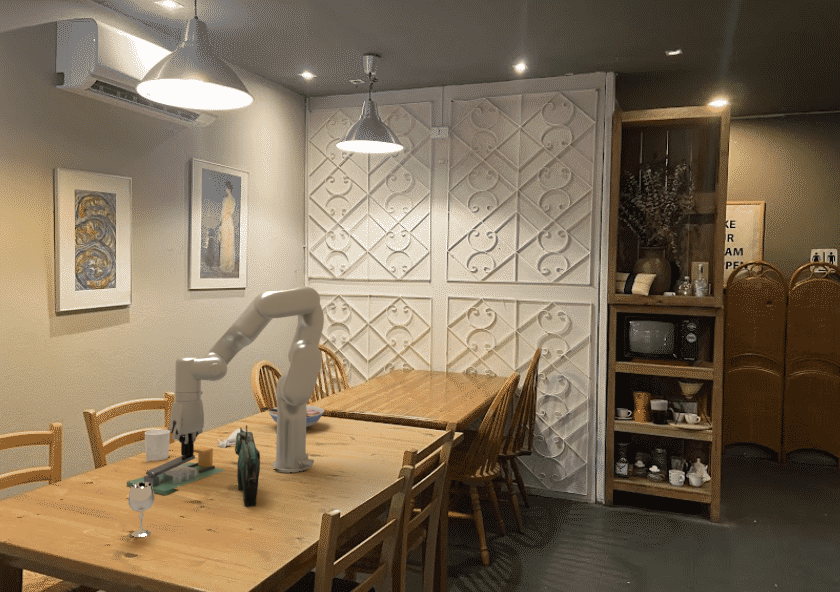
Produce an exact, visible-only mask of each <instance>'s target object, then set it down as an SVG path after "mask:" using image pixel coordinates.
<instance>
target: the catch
mask: <svg viewBox="0 0 840 592" xmlns="http://www.w3.org/2000/svg"><path fill="white" fill-rule="evenodd" d="M213 451H214V448H212V447H208V446H207V447H206V446H197V447H194V453H196V454H198V457H197V459H198V460H197V462H198V466H203V467H210V466H213V462H214V461H213V457H214V456H213V455H214V453H213Z"/></svg>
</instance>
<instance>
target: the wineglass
mask: <svg viewBox="0 0 840 592" xmlns="http://www.w3.org/2000/svg"><path fill="white" fill-rule="evenodd" d="M127 500H128V506H129V508H130V509H131V510H132V511H134V512H138V513H139V514H138V517H139V529H138V530H136V531H133V532H132V533H131V534H130V536H131V535H132V536H134V537H133V538H135V537H141V538H145V536H146V537H148V536H150V535H151V534H152V532H151V530H147V529H144V528H143V519H144V512H146V511H147V510H149V509H151V508H152V506H154V502H155V493H154V490H153V486H152V483H150V482H139V483H135V484H133V485H131V487H130V489H129V493H128V499H127ZM132 536H131V537H132Z"/></svg>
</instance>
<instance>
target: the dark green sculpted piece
mask: <svg viewBox="0 0 840 592" xmlns="http://www.w3.org/2000/svg"><path fill="white" fill-rule="evenodd" d="M239 429H240V433H237V437H236V444H234V445H235V447H234V452H235V454H236V455H237V456H238V459H237V465H236V466H237V468H236V470H237V471H236V478H237V480H236V481H237V490H238V491H242V496H243V506H244V507H246V508H251V507H256V506H257V497H258V488H259V487H258V486H259V478H260V472H261V454H260V450H258V448H257V446H256V444H255V439H254V435H253V432H252V431H248V425H246V424H245V431H246V432H245V431H243V430H242V429H243V428H242V427H241V426H240V427H239Z"/></svg>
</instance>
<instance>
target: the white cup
mask: <svg viewBox="0 0 840 592" xmlns="http://www.w3.org/2000/svg"><path fill="white" fill-rule="evenodd" d="M170 436H171V433H170V429H164V428H160V429H157V428H156V429H151V430H147V431H144V448H145V450H144V451H145V463H148V462H151V461H153V462H156V461H157V462H159V461H164V460H166V459H168V457H169V452H170V439H171V437H170Z"/></svg>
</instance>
